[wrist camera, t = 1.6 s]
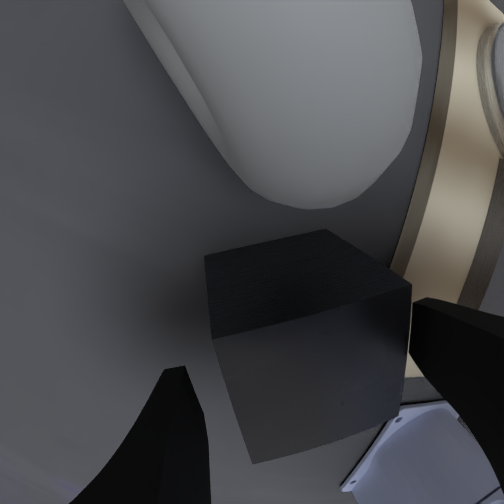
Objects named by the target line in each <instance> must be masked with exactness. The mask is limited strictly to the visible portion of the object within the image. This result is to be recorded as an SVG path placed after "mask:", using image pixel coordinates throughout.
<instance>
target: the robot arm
mask: <svg viewBox="0 0 504 504" xmlns="http://www.w3.org/2000/svg"><path fill="white" fill-rule="evenodd" d="M408 353H409V354H410V356H411V358H412V359H413V361H414V362H415V364H416V365H417V367H418V368H419V370H420V371H421V373H422V374H423V375H424V376H425V378H426V379H427V380H428V381H429V382H430V383H431V384H432V386H433V387H434V388H435V389H436V390H437V391H438V392H439V393H440V394H441V396H442V397H443V398H444V399H445V400H444V401H437V402H429V403H421V404H412V405H403V406H400V410H399V416H398V417H395V418H393V419H391V420H389V421H388V422H387V424H386V425H385V427H384V428H383V430H382V431H381V433H380V434H379V436H378V437H377V439H376V440H375V442H374V443H373V445H372V446H371V447H370V449H369V450H368V452H367V453H366V454H365V456H364V457H363V459H362V460H361V461H360V463H359V464H358V465H357V467H356V468H355V469H354V471H353V472H352V473H351V474H350V476H349V477H348V478H347V480H346V481H345V482H344V483H343V485H342V486H341V487H340V488H341V491H342V492H347V491H352V493H353V495H354V497H355V499H356V501H357V504H504V317H503V316H498V315H494V314H490V313H487V312H483V311H479V310H476V309H472V308H469V307H465V306H462V305H458V304H455V303H451V302H447V301H443V300H439V299H435V298H430V297H426V298H423V299H420V300H418V301H415V302H413V303H412V318H411V331H410V341H409V351H408ZM459 416H460V417H461V418H462V419H463V421H464V422H465V423H466V425H467V426H468V427H469V429H470V431H471V432H472V434H473V435H474V437H475V438H476V440H477V441H478V443H479V444H478V443H477V442H476V441H475V440H474V439H473V437H472V436H471V435H470V434H469V433H468V432H467V431H466V430H465V428H464V427H463V426H462V425H461V424H460V423H459V422H458V420H457V419H458V417H459ZM480 446H481V447H480ZM69 504H211V490H210V469H209V446H208V437H207V430H206V424H205V418H204V413H203V411H202V408H201V406H200V403H199V401H198V398H197V396H196V393H195V391H194V388H193V386H192V383H191V380H190V378H189V375H188V373H187V370H186V367H185V366H180V367H175V368H169V369H164V371H163V372H162V374H161V376H160V378H159V380H158V382H157V384H156V386H155V387H154V389H153V391H152V393H151V395H150V397H149V399H148V401H147V402H146V404H145V406H144V408H143V409H142V411H141V413H140V415H139V416H138V418H137V420H136V422H135V423H134V425H133V427H132V428H131V430H130V431H129V433H128V434H127V436H126V437H125V439H124V440H123V442H122V443H121V445H120V446H119V448H118V449H117V451H116V452H115V453H114V455H113V456H112V458H111V459H110V460H109V461H108V463H107V464H106V465H105V466H104V468H103V469H102V470H101V471H100V473H99V474H98V475H97V476H96V477H95V478H94V479H93V480H92V481H91V482H90V483H89V484H88V485H87V487H86V488H85V489H84V490H83V491H82V492H81V493H80V494H79V495H78V496H77V497H76V498H75V499H74V500H73V501H72V502H70V503H69Z"/></svg>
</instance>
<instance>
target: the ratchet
mask: <svg viewBox="0 0 504 504" xmlns="http://www.w3.org/2000/svg"><path fill="white" fill-rule="evenodd" d="M476 70H477V81H478V88H479V94H480V99H481V103H482V107H483V111H484V115H485V118H486V121H487V124H488V127H489V130H490V133H491V135H492V137H493V140H494V142H495V144H496V146H497V148H498V150H499V152H500V153H501V155H502V156H503V158H504V22H501V23H497V24H493V25H491V26H488V27H487V28H486V29H485V30H484V31H483V33H482V34H481V36H480V39H479V42H478V46H477V54H476ZM456 304H458V305H462V306H465V307H469V308H472V309H476V310H479V311H483V312H487V313H490V314H494V315H498V316H503V317H504V159H501V158H499V163H498V168H497V173H496V178H495V183H494V187H493V192H492V196H491V200H490V204H489V208H488V212H487V216H486V219H485V223H484V226H483V230H482V233H481V237H480V240H479V243H478V246H477V249H476V252H475V255H474V258H473V261H472V264H471V267H470V270H469V273H468V275H467V278H466V281H465V283H464V286H463V289H462V291H461V294H460V296H459V299H458V301H457V303H456Z"/></svg>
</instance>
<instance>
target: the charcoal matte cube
mask: <svg viewBox="0 0 504 504" xmlns="http://www.w3.org/2000/svg"><path fill="white" fill-rule="evenodd" d="M204 261H205V272H206V283H207V294H208V304H209V314H210V324H211V333H212V340H213V344H214V347H215V351H216V354H217V357H218V361H219V364H220V367H221V370H222V374H223V377H224V380H225V383H226V387H227V390H228V393H229V396H230V399H231V402H232V405H233V408H234V412H235V415H236V418H237V421H238V424H239V427H240V430H241V432H242V435H243V438H244V441H245V444H246V447H247V450H248V453H249V456H250V458H251V461H252V464H256V463H260V462H264V461H268V460H273V459H277V458H281V457H284V456H288V455H292V454H295V453H299V452H302V451H306V450H309V449H312V448H316V447H319V446H322V445H325V444H328V443H331V442H334V441H337V440H340V439H343V438H345V437H348V436H351V435H354V434H356V433H359V432H362V431H364V430H367V429H369V428H372V427H374V426H377V425H379V424H381V423H384V422H386V421H389V420H391V419H393V418H395V417H398V416H399V410H400V404H401V398H402V392H403V385H404V378H405V370H406V362H407V353H408V343H409V332H410V319H411V303H412V284H411V283H410V282H408V281H407V280H405V279H404V278H402V277H401V276H399V275H398V274H396V273H395V272H393V271H392V270H390V269H389V268H387V267H385V266H384V265H382V264H381V263H379V262H378V261H376V260H375V259H373V258H372V257H370V256H368V255H367V254H365V253H364V252H362V251H361V250H359V249H357V248H356V247H354V246H353V245H351V244H349V243H348V242H346V241H345V240H343V239H341V238H340V237H338V236H336V235H335V234H333V233H332V232H330V231H328V230H327V229H324V230H319V231H315V232H310V233H306V234H301V235H297V236H292V237H287V238H283V239H278V240H274V241H269V242H265V243H260V244H256V245H251V246H247V247H242V248H238V249H233V250H229V251H224V252H220V253H215V254H211V255H207V256H204Z"/></svg>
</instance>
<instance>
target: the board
mask: <svg viewBox="0 0 504 504" xmlns="http://www.w3.org/2000/svg"><path fill="white" fill-rule="evenodd" d="M501 22H504V14H503V13H502V12H501V11H500V10H499V9H497V8H496V7H495V6H494V5H493V4H492V3H491V2H490V1H489V0H444V13H443V28H442V40H441V50H440V59H439V67H438V75H437V82H436V88H435V95H434V101H433V107H432V112H431V118H430V123H429V128H428V133H427V138H426V142H425V147H424V151H423V156H422V160H421V164H420V168H419V172H418V176H417V180H416V184H415V188H414V191H413V195H412V199H411V202H410V206H409V209H408V213H407V216H406V219H405V223H404V226H403V229H402V232H401V236H400V239H399V242H398V245H397V248H396V251H395V254H394V257H393V260H392V263H391V265H390V268H389V269H390V270H392V271H393V272H395V273H396V274H398V275H399V276H401V277H402V278H404V279H405V280H407V281H408V282H410V283H411V284H412V303H413V302H415V301H418V300H420V299H423V298H426V297H430V298H435V299H439V300H443V301H447V302H451V303H455V304H456V303H457V301H458V299H459V296H460V294H461V291H462V289H463V286H464V283H465V281H466V278H467V275H468V273H469V270H470V267H471V264H472V261H473V258H474V255H475V252H476V249H477V246H478V243H479V240H480V237H481V233H482V230H483V226H484V223H485V219H486V216H487V212H488V208H489V204H490V200H491V196H492V192H493V187H494V183H495V178H496V173H497V168H498V163H499V158H501V159H504V158H503V156H502V155H501V153H500V152H499V150H498V148H497V146H496V144H495V142H494V140H493V137H492V135H491V133H490V130H489V127H488V124H487V121H486V118H485V115H484V111H483V107H482V103H481V99H480V94H479V88H478V81H477V70H476V54H477V46H478V42H479V39H480V36H481V34H482V33H483V31H484V30H485V29H486V28H487V27H488V26H491V25H493V24H497V23H501ZM412 303H411V318H412ZM410 331H411V319H410ZM409 341H410V332H409ZM408 351H409V343H408ZM405 377H425V376H424V375H423V374H422V373H421V371H420V370H419V368H418V367H417V365H416V364H415V362H414V361H413V359H412V358H411V356H410V354H409V353H407V362H406V370H405Z"/></svg>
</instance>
